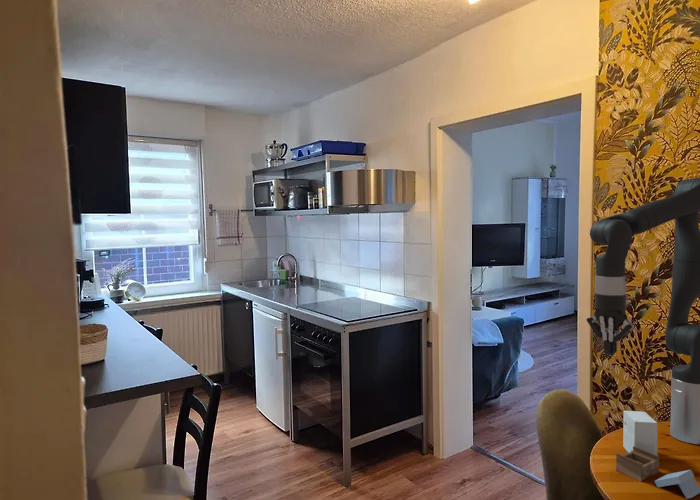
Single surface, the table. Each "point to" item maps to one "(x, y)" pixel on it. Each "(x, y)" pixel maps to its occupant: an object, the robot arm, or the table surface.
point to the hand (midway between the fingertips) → (610, 353)
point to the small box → (639, 431)
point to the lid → (681, 482)
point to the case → (638, 464)
